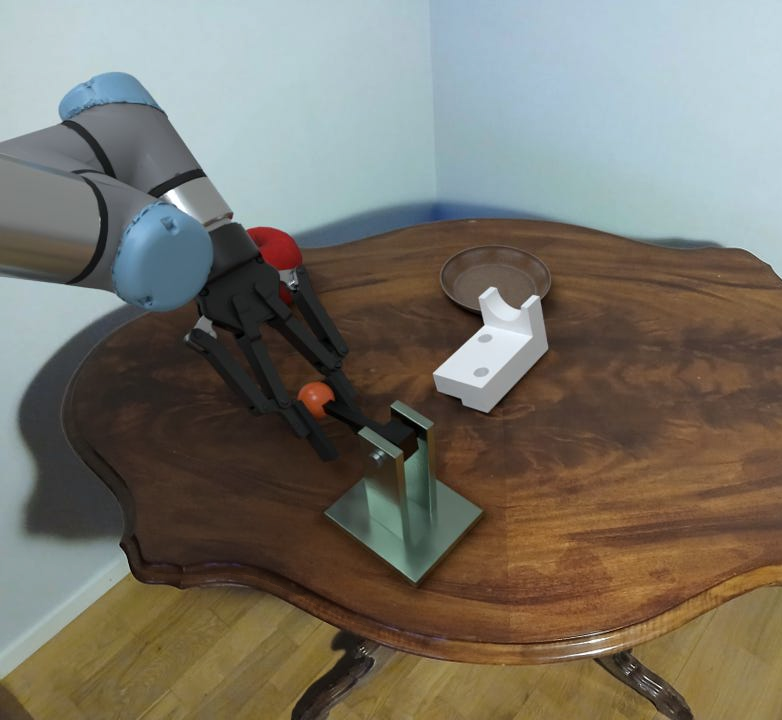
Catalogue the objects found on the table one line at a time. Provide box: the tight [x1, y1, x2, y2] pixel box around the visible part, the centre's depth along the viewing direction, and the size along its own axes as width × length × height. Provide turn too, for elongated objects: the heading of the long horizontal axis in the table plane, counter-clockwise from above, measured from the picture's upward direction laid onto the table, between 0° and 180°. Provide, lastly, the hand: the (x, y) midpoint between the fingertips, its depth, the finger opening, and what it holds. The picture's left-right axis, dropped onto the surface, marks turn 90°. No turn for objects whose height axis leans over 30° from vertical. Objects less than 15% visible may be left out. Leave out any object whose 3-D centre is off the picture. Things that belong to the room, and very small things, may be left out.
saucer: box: [439, 244, 552, 316], centre depth 97 cm, size 15×15×3 cm
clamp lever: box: [296, 381, 419, 462], centre depth 67 cm, size 14×4×4 cm, turn 52°
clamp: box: [323, 399, 484, 590], centre depth 67 cm, size 12×10×14 cm
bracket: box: [432, 287, 549, 414], centre depth 85 cm, size 13×7×8 cm, turn 145°
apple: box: [245, 226, 303, 306], centre depth 92 cm, size 10×10×11 cm
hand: (348, 444), depth 71 cm, fingers closed on clamp lever, 4 cm apart
